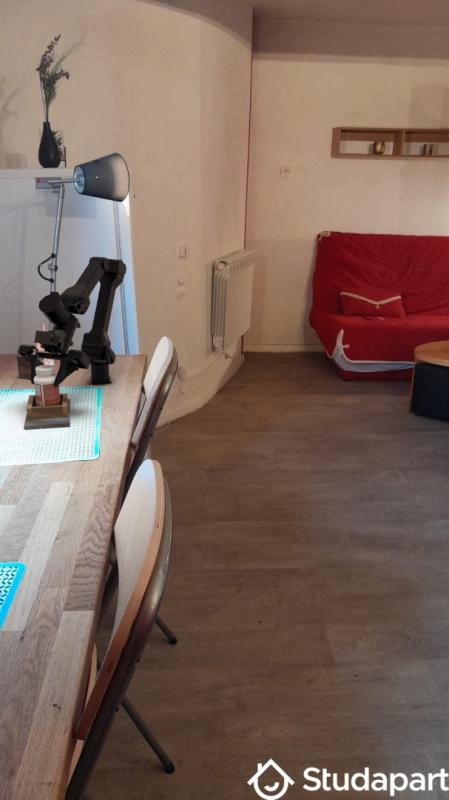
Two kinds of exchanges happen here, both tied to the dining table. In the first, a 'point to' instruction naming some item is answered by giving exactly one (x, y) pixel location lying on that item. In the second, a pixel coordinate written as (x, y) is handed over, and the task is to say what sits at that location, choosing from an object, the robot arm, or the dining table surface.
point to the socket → (47, 414)
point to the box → (24, 368)
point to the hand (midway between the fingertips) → (43, 385)
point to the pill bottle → (46, 386)
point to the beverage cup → (46, 361)
